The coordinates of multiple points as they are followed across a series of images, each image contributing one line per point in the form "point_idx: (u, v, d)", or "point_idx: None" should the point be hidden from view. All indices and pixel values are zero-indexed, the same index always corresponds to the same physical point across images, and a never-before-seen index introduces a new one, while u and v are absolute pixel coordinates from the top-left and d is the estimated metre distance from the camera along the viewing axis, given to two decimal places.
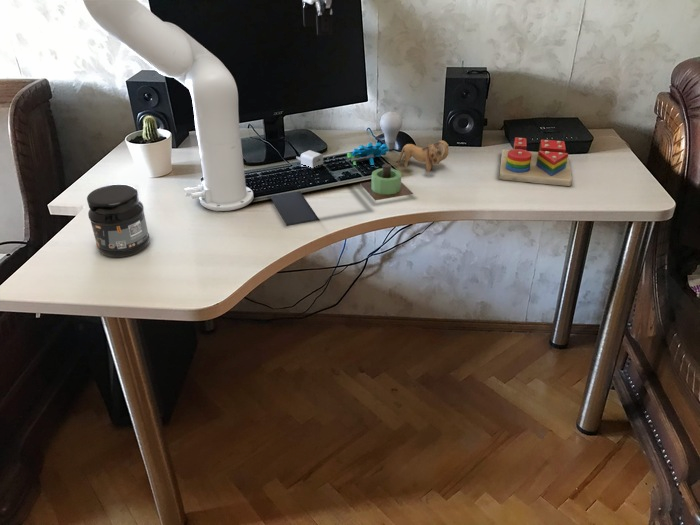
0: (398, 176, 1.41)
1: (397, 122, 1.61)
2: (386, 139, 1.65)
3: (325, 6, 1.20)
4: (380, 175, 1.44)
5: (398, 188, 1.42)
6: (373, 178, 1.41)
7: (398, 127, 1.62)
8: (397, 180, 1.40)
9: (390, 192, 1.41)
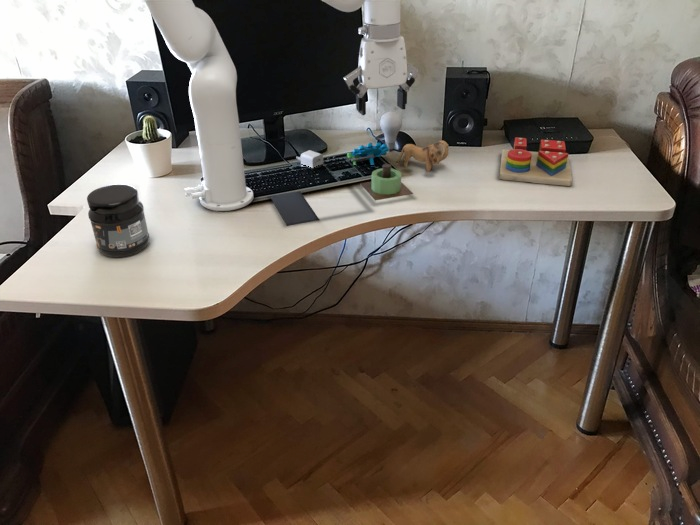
0: (398, 176, 1.41)
1: (397, 122, 1.61)
2: (386, 139, 1.65)
3: None
4: (380, 175, 1.44)
5: (398, 188, 1.42)
6: (373, 178, 1.41)
7: (398, 127, 1.62)
8: (397, 180, 1.40)
9: (390, 192, 1.41)
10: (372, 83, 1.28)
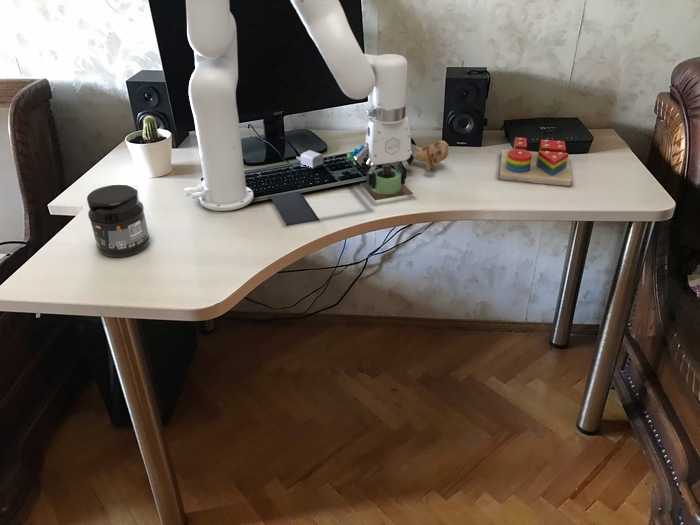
0: (398, 176, 1.41)
1: None
2: None
3: None
4: (380, 175, 1.44)
5: (398, 188, 1.42)
6: None
7: None
8: (397, 180, 1.40)
9: (390, 192, 1.41)
10: (378, 159, 1.36)
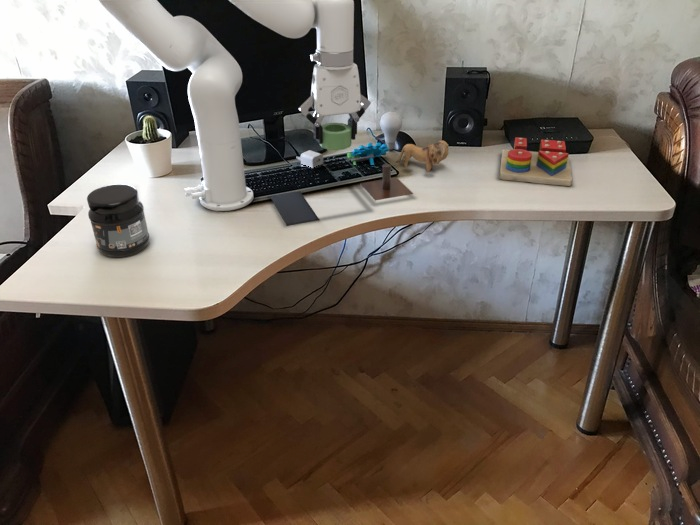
0: (347, 130, 1.30)
1: (397, 122, 1.61)
2: (386, 139, 1.65)
3: None
4: (329, 130, 1.34)
5: (348, 143, 1.31)
6: None
7: (398, 127, 1.62)
8: (346, 134, 1.30)
9: (339, 148, 1.31)
10: (324, 110, 1.26)
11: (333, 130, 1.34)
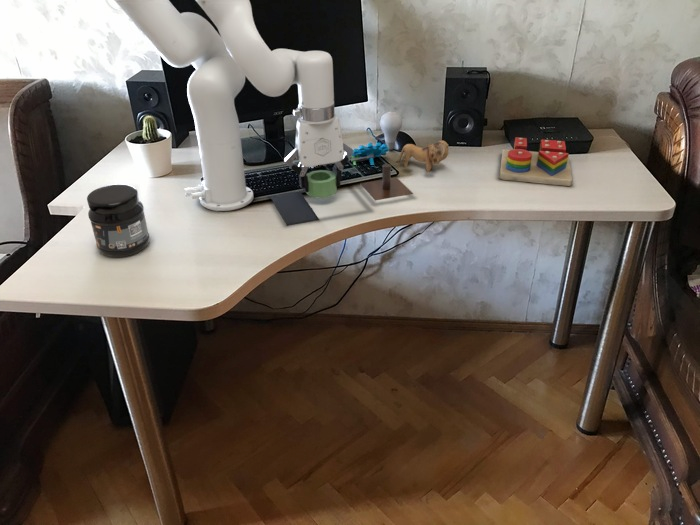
0: (332, 178, 1.35)
1: (397, 122, 1.61)
2: (386, 139, 1.65)
3: None
4: (315, 177, 1.38)
5: (333, 191, 1.36)
6: None
7: (398, 127, 1.62)
8: (331, 182, 1.34)
9: (324, 195, 1.35)
10: (308, 161, 1.30)
11: (319, 177, 1.39)
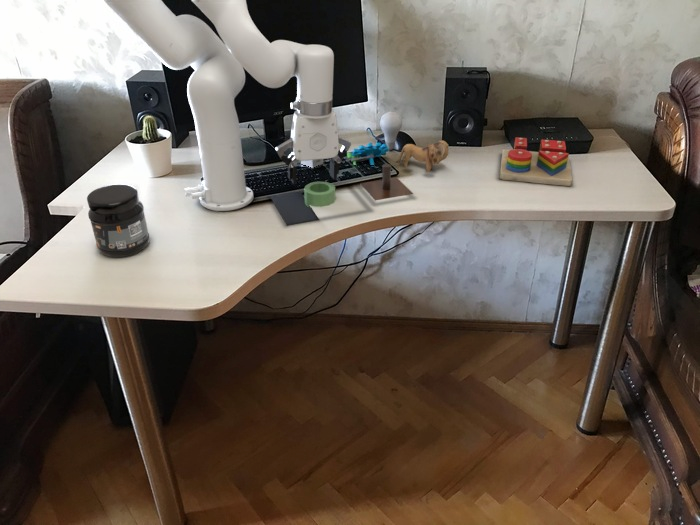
0: (331, 190, 1.36)
1: (397, 122, 1.61)
2: (386, 139, 1.65)
3: None
4: (314, 189, 1.40)
5: (331, 202, 1.37)
6: (305, 192, 1.37)
7: (398, 127, 1.62)
8: (330, 194, 1.36)
9: None
10: (302, 155, 1.30)
11: (318, 189, 1.40)
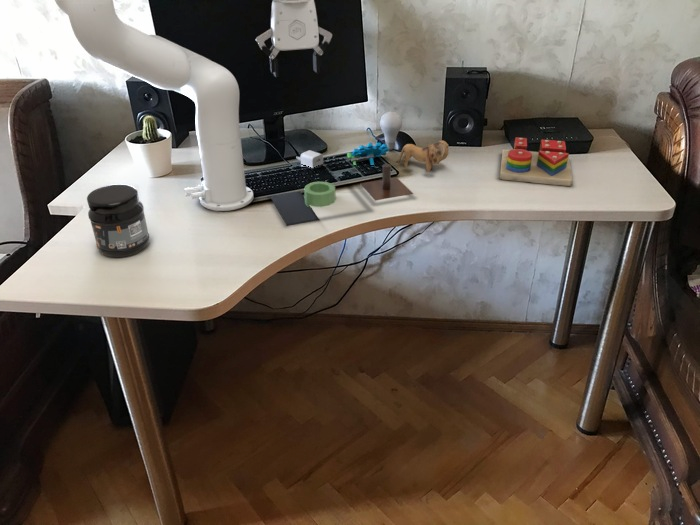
0: (331, 190, 1.36)
1: (397, 122, 1.61)
2: (386, 139, 1.65)
3: (328, 44, 1.36)
4: (314, 189, 1.40)
5: (331, 202, 1.37)
6: (305, 192, 1.37)
7: (398, 127, 1.62)
8: (330, 194, 1.36)
9: None
10: (282, 44, 1.30)
11: (318, 189, 1.40)
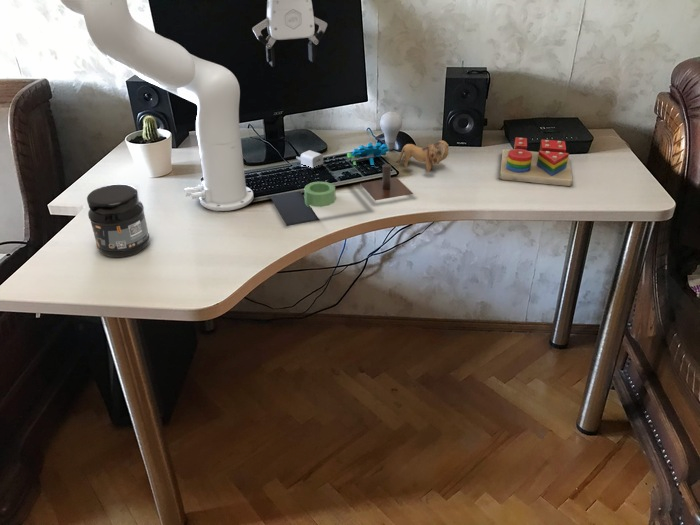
0: (331, 190, 1.36)
1: (397, 122, 1.61)
2: (386, 139, 1.65)
3: (323, 33, 1.38)
4: (314, 189, 1.40)
5: (331, 202, 1.37)
6: (305, 192, 1.37)
7: (398, 127, 1.62)
8: (330, 194, 1.36)
9: None
10: (279, 34, 1.32)
11: (318, 189, 1.40)
